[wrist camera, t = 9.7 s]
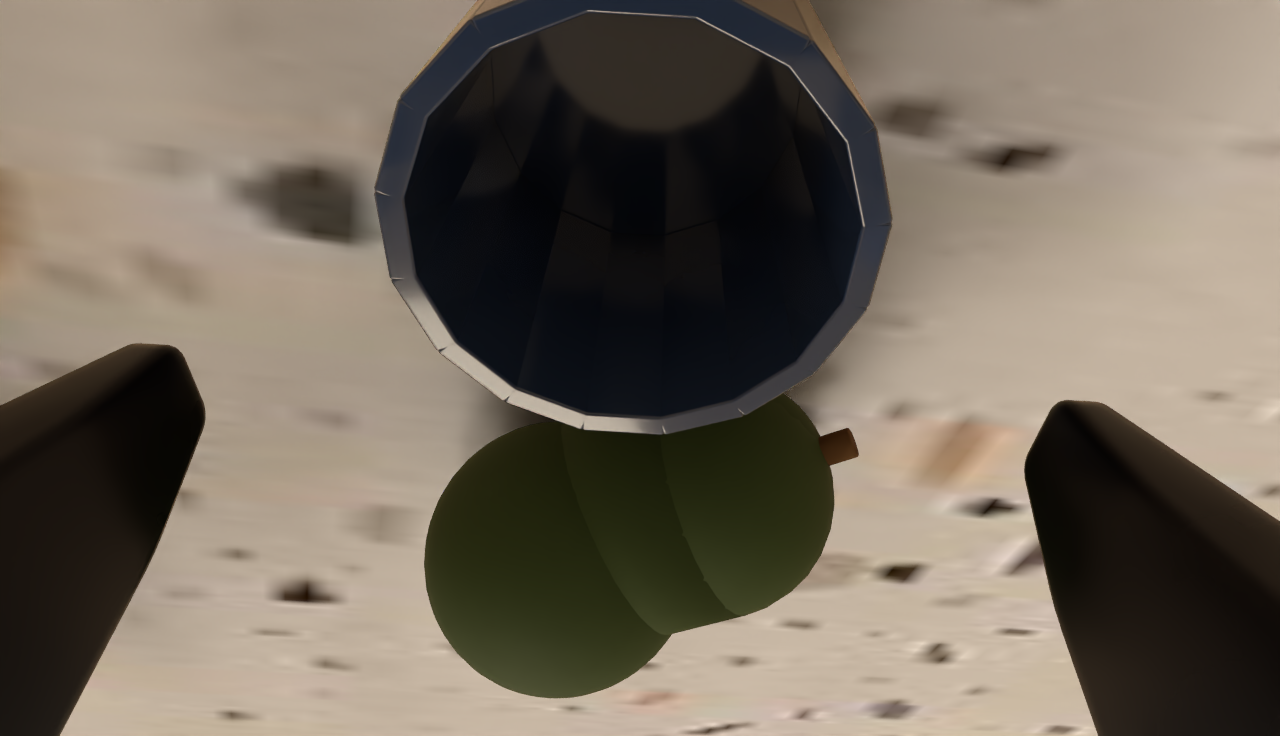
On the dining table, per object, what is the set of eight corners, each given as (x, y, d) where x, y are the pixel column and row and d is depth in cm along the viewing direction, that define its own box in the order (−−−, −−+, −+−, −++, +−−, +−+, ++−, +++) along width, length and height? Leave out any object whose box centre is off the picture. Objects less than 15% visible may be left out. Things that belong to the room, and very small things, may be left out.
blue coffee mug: (785, 246, 18) (830, 446, 12) (491, 229, 18) (416, 421, 12) (892, -315, 11) (1063, -372, 6) (442, -342, 11) (256, -419, 6)
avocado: (538, 554, 25) (501, 768, 20) (410, 417, 21) (322, 635, 16) (873, 452, 22) (937, 680, 16) (789, 266, 18) (836, 482, 13)
